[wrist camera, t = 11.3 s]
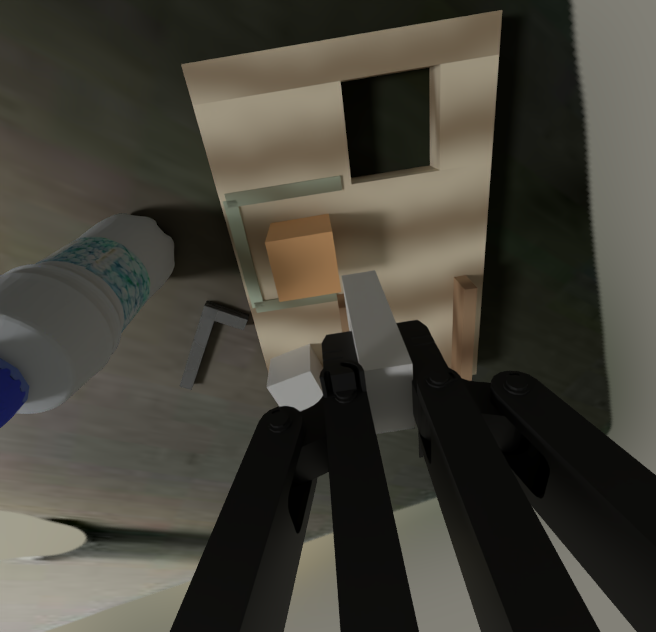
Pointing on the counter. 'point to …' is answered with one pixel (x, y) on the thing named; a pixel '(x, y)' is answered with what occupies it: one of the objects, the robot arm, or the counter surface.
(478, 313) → the board
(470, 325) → the cubby
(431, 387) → the robot arm
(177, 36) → the counter surface
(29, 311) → the bottle
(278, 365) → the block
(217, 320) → the crook tool
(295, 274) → the cube
